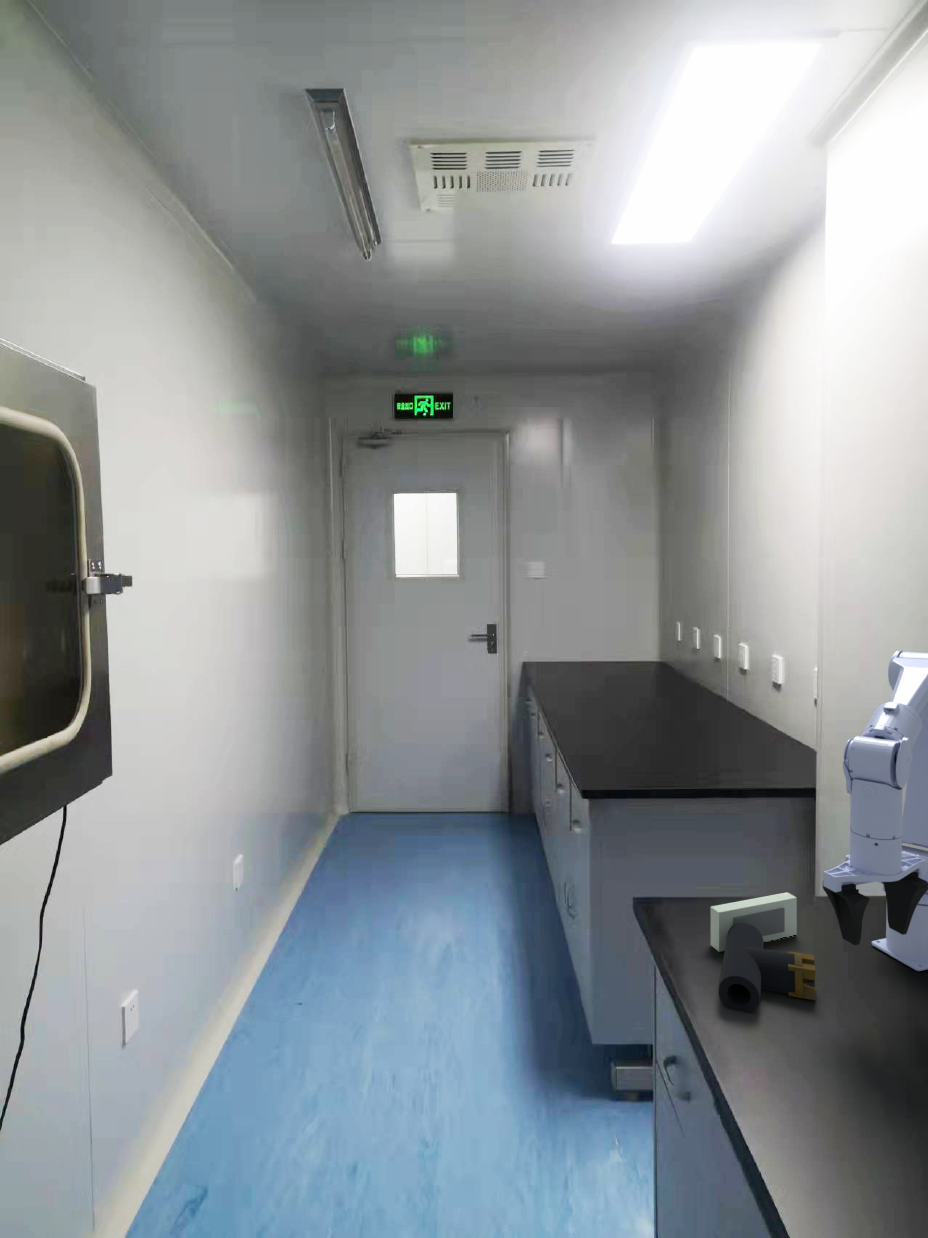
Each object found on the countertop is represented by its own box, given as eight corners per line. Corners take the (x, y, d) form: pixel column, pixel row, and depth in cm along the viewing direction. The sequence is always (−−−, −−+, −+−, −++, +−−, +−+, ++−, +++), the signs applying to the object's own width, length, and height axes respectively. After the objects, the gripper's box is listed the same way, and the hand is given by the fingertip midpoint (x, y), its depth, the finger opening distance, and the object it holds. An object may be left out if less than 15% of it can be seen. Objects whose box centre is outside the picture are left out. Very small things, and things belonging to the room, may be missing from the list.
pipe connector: (812, 931, 103) (816, 988, 89) (813, 968, 103) (817, 1030, 89) (726, 919, 107) (717, 971, 94) (727, 954, 108) (718, 1011, 94)
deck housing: (787, 929, 113) (787, 892, 113) (798, 936, 111) (798, 898, 111) (710, 945, 109) (710, 906, 109) (720, 952, 107) (720, 913, 107)
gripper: (893, 814, 98) (891, 912, 98) (805, 828, 93) (804, 931, 94) (941, 832, 91) (939, 937, 92) (849, 848, 87) (848, 958, 87)
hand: (874, 936), depth 93 cm, fingers open, 7 cm apart
